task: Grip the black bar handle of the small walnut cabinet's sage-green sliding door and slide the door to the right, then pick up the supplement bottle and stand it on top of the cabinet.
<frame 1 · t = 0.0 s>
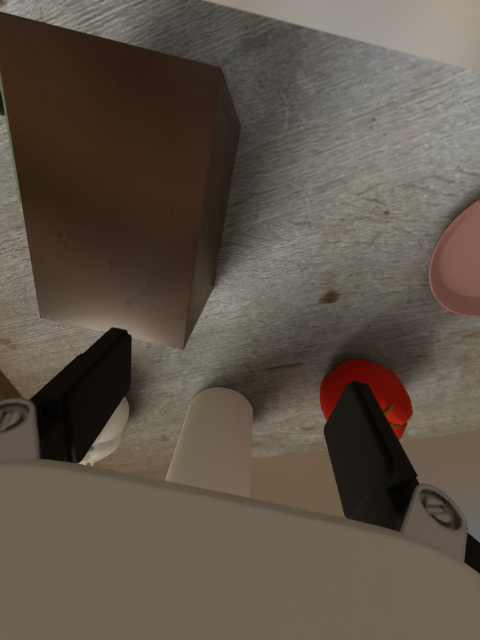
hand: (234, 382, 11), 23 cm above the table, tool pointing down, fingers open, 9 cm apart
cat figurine: (110, 407, 46), on the table
tomato: (352, 379, 39), on the table
door: (43, 135, 22), point 7 cm above the table, slide at 0.0 cm
cabinet: (173, 207, 30), on the table
tall pillar cylinder: (221, 410, 44), on the table
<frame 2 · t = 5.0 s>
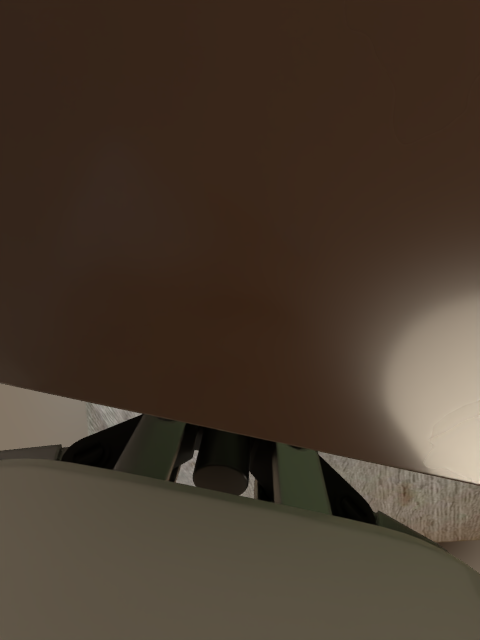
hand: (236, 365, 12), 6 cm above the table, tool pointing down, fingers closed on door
door: (283, 345, 10), point 7 cm above the table, slide at 0.0 cm, touching gripper
cabinet: (416, 117, 12), on the table
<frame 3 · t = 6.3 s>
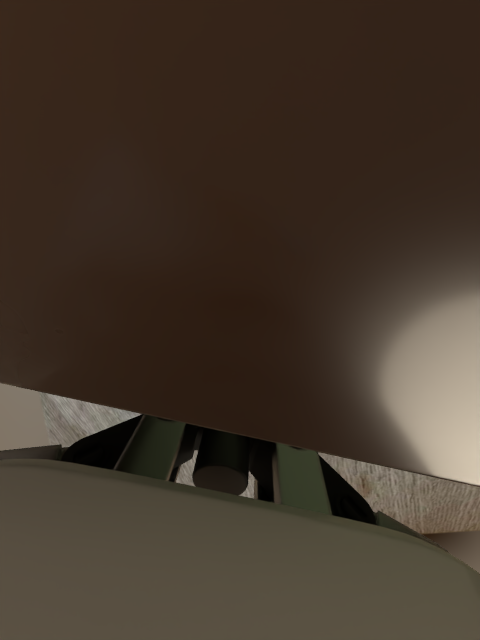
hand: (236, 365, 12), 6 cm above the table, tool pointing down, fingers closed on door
door: (283, 345, 10), point 7 cm above the table, slide at 3.9 cm, touching gripper
cabinet: (334, 96, 12), on the table
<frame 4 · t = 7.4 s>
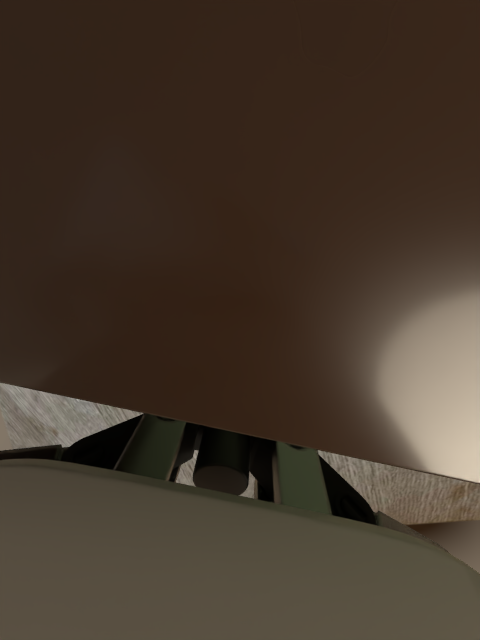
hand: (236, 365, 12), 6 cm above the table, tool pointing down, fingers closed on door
door: (283, 345, 10), point 7 cm above the table, slide at 7.8 cm, touching gripper
cabinet: (249, 75, 12), on the table
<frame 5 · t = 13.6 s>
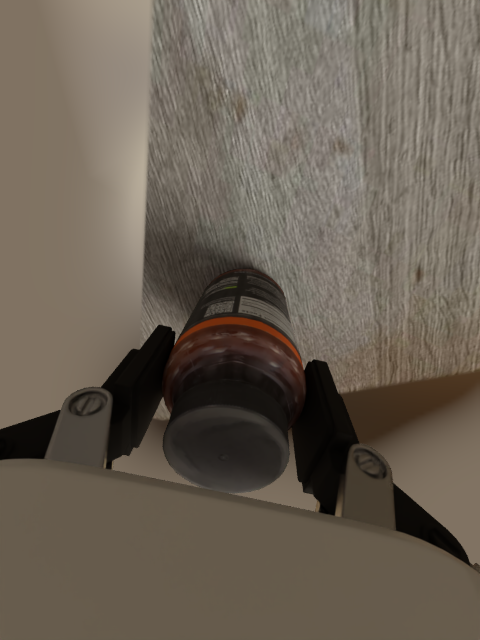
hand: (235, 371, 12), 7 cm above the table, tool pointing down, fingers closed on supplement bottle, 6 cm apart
supplement bottle: (244, 306, 18), on the table, touching gripper
when the fingers open (21 cm above the table, at t = 20.0 s): supplement bottle stays where it is, resting on cabinet.
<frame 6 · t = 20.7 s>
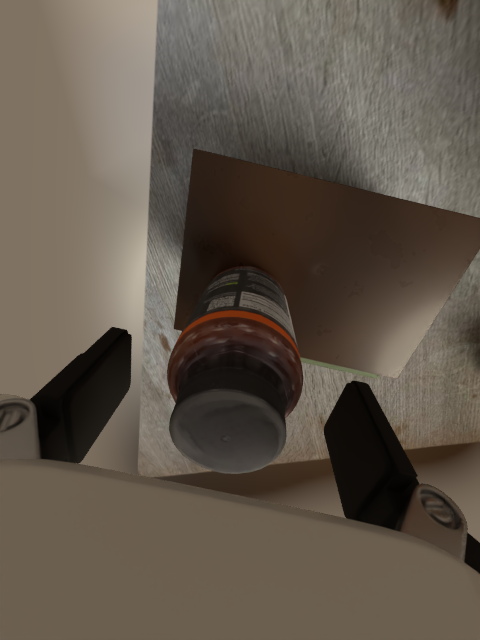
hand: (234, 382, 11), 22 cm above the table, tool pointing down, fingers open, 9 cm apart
door: (307, 349, 29), point 7 cm above the table, slide at 8.0 cm
cabinet: (292, 243, 30), on the table
supplement bottle: (245, 303, 19), point 14 cm above the table, touching cabinet
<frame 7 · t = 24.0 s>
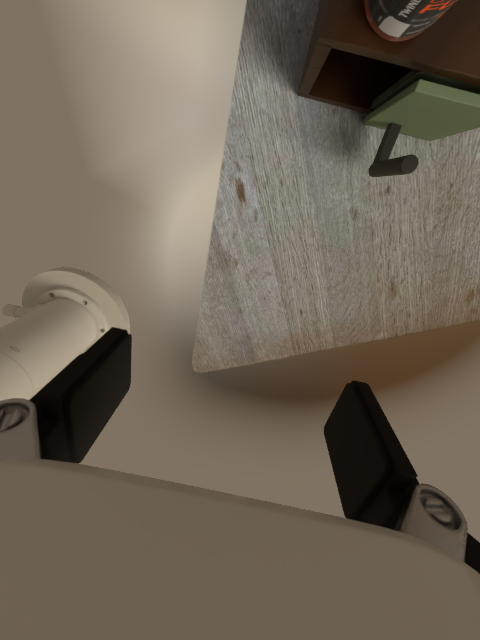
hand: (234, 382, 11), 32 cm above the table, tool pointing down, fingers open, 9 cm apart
door: (412, 147, 28), point 7 cm above the table, slide at 8.0 cm
cabinet: (391, 48, 29), on the table
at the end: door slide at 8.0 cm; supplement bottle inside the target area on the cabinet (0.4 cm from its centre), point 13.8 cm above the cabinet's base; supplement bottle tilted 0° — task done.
